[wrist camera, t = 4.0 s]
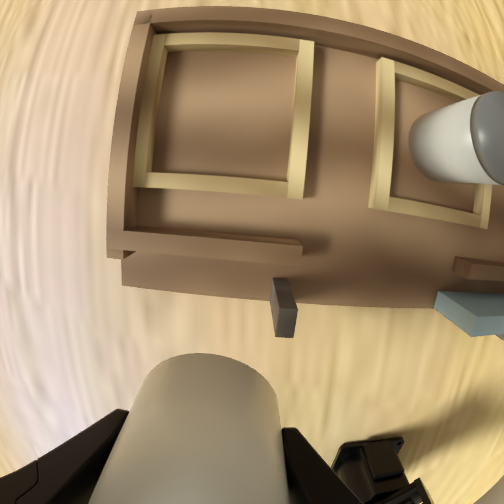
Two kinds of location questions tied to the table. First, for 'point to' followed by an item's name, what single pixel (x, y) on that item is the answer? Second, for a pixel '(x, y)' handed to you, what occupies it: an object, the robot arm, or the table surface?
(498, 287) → the tray
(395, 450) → the robot arm
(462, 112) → the pin
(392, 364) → the table surface
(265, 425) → the grey pin
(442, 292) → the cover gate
